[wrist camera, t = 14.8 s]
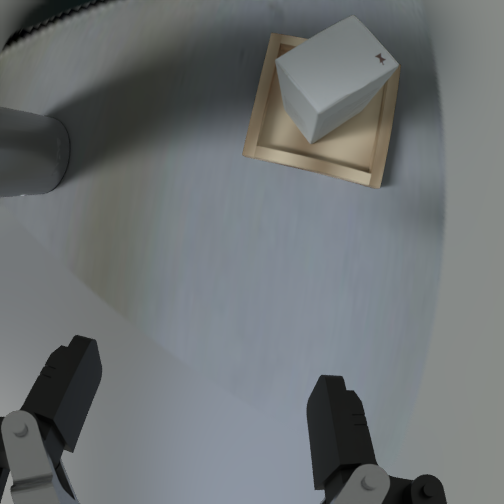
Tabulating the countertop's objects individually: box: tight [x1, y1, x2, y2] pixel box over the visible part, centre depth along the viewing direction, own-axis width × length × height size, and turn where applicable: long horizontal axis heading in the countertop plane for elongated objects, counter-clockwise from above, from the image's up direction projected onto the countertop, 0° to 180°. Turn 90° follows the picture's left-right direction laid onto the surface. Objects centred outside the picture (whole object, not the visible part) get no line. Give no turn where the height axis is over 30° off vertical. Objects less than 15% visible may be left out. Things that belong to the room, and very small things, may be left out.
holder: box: [242, 33, 401, 189], centre depth 26 cm, size 12×12×2 cm
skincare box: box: [275, 15, 399, 144], centre depth 21 cm, size 6×4×12 cm
